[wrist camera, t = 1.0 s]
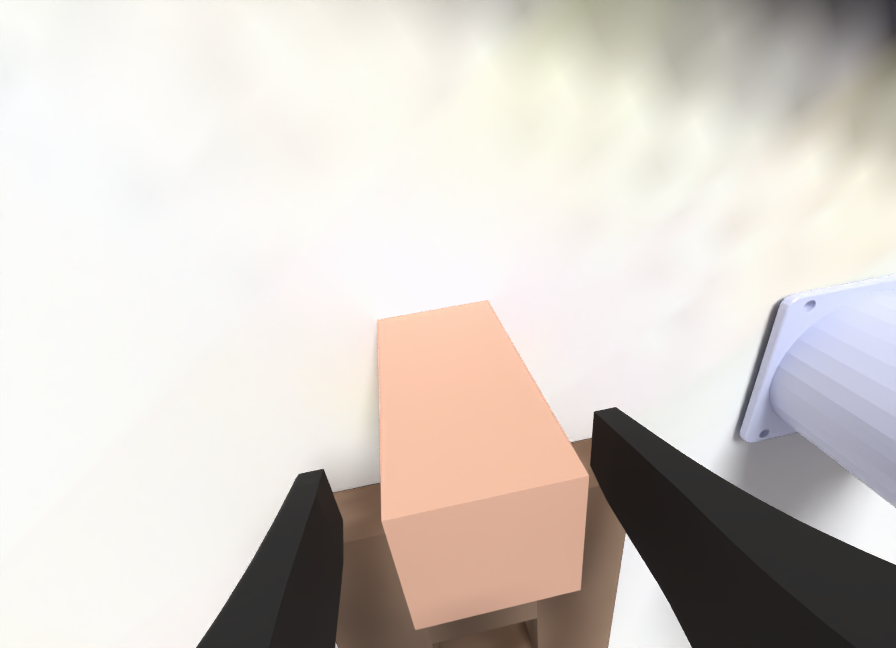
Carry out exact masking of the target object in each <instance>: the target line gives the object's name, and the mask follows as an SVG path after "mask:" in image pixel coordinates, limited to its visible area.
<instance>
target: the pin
mask: <svg viewBox="0 0 896 648" xmlns="http://www.w3.org/2000/svg"><path fill="white" fill-rule="evenodd" d="M378 370H379V422H380V473H381V521H382V525H383V528H384V531H385V534H386V537H387V541H388V544H389V547H390V550H391V554H392V557H393V560H394V563H395V566H396V570H397V573H398V576H399V579H400V582H401V586H402V589H403V592H404V595H405V598H406V602H407V605H408V608H409V611H410V615H411V618H412V621H413V624H414V627H415V630H418V629H422V628H426V627H431V626H435V625H439V624H443V623H447V622H451V621H455V620H459V619H463V618H468V617H472V616H476V615H480V614H484V613H488V612H492V611H496V610H500V609H505V608H509V607H513V606H517V605H521V604H525V603H529V602H533V601H537V600H542V599H546V598H550V597H554V596H558V595H562V594H566V593H570V592H574V591H579V590H581V578H582V565H583V551H584V538H585V525H586V512H587V499H588V486H589V474H588V473H587V471H586V469H585V467H584V466H583V464H582V462H581V460H580V459H579V457H578V455H577V454H576V452H575V450H574V448H573V447H572V445H571V443H570V441H569V440H568V438H567V436H566V435H565V433H564V431H563V429H562V428H561V426H560V424H559V422H558V421H557V419H556V417H555V416H554V414H553V412H552V410H551V409H550V407H549V405H548V403H547V402H546V400H545V398H544V397H543V395H542V393H541V391H540V390H539V388H538V386H537V384H536V383H535V381H534V379H533V377H532V376H531V374H530V372H529V371H528V369H527V367H526V365H525V364H524V362H523V360H522V358H521V357H520V355H519V353H518V352H517V350H516V348H515V346H514V345H513V343H512V341H511V339H510V338H509V336H508V334H507V333H506V331H505V329H504V327H503V326H502V324H501V322H500V320H499V319H498V317H497V315H496V314H495V312H494V310H493V308H492V307H491V305H490V303H489V301H488V300H486V301H480V302H475V303H469V304H464V305H458V306H453V307H447V308H441V309H436V310H430V311H425V312H419V313H413V314H408V315H402V316H397V317H391V318H385V319H380V320H378Z"/></svg>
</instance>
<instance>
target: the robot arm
mask: <svg viewBox="0 0 896 648" xmlns="http://www.w3.org/2000/svg"><path fill="white" fill-rule="evenodd" d="M797 432H798V433H800V434H801V435H802V436H804V437H805V438H806V439H807V440H809V441H810V442H811V443H813V444H814V445H815V446H816V447H818V448H819V449H820V450H822V451H823V452H824V453H826V454H827V455H828V456H829V457H831V458H832V459H833V460H835V461H836V462H837V463H838V464H840V465H841V466H842V467H844V468H845V469H846V470H847V471H849V472H850V473H851V474H853V475H854V476H855V477H856V478H858V479H859V480H860V481H862V482H863V483H864V484H865V485H867V486H868V487H869V488H871V489H872V490H873V491H874V492H876V493H877V494H878V495H880V496H881V497H882V498H884V499H885V500H886V501H887V502H889V503H890V504H891V505H893V506H894V507H895V508H896V274H895V275H889V276H884V277H879V278H874V279H868V280H863V281H858V282H852V283H847V284H842V285H837V286H831V287H826V288H821V289H816V290H810V291H805V292H800V293H794V294H792V295H789V296H787V297H786V298H785V299H784V300H783V301H782V302H781V304H780V306H779V309H778V312H777V315H776V319H775V322H774V325H773V328H772V331H771V335H770V338H769V341H768V344H767V347H766V350H765V354H764V357H763V360H762V363H761V366H760V370H759V373H758V376H757V379H756V382H755V386H754V389H753V392H752V395H751V398H750V401H749V405H748V408H747V411H746V414H745V417H744V421H743V424H742V427H741V430H740V437H741V438H742V439H743V440H744V441H745V442H748V443H751V442H757V441H761V440H766V439H770V438H775V437H779V436H784V435H788V434H793V433H797ZM590 466H591V469H592V471H593V473H594V475H595V477H596V479H597V482H598V484H599V486H600V488H601V490H602V492H603V494H604V496H605V498H606V500H607V502H608V504H609V505H610V507H611V509H612V510H613V512H614V514H615V515H616V517H617V519H618V520H619V522H620V523H621V525H622V527H623V528H624V530H625V532H626V533H627V535H628V536H629V538H630V540H631V541H632V543H633V544H634V546H635V548H636V549H637V551H638V552H639V554H640V556H641V557H642V559H643V560H644V562H645V564H646V565H647V567H648V568H649V570H650V572H651V573H652V575H653V576H654V578H655V580H656V581H657V583H658V584H659V586H660V588H661V590H662V591H663V593H664V595H665V597H666V598H667V600H668V602H669V604H670V605H671V607H672V609H673V611H674V613H675V615H676V617H677V619H678V621H679V623H680V625H681V627H682V629H683V631H684V633H685V635H686V637H687V639H688V641H689V642H690V644H691V646H692V648H896V565H895V564H892V563H890V562H888V561H885V560H883V559H881V558H878V557H876V556H874V555H871V554H869V553H867V552H864V551H862V550H860V549H858V548H856V547H854V546H851V545H849V544H847V543H845V542H843V541H841V540H838V539H836V538H834V537H832V536H830V535H828V534H825V533H823V532H821V531H819V530H817V529H815V528H813V527H811V526H809V525H807V524H805V523H803V522H801V521H799V520H797V519H795V518H793V517H791V516H789V515H787V514H785V513H783V512H782V511H780V510H778V509H776V508H774V507H772V506H770V505H768V504H766V503H765V502H763V501H761V500H759V499H757V498H755V497H754V496H752V495H750V494H748V493H746V492H745V491H743V490H741V489H740V488H738V487H736V486H735V485H733V484H731V483H730V482H728V481H726V480H724V479H723V478H721V477H719V476H718V475H716V474H714V473H713V472H711V471H710V470H708V469H706V468H705V467H703V466H702V465H700V464H699V463H697V462H695V461H694V460H692V459H691V458H689V457H688V456H686V455H685V454H683V453H682V452H680V451H679V450H677V449H676V448H674V447H673V446H671V445H670V444H668V443H667V442H665V441H664V440H662V439H661V438H659V437H658V436H657V435H655V434H654V433H652V432H651V431H649V430H648V429H646V428H645V427H644V426H642V425H641V424H639V423H638V422H636V421H635V420H634V419H632V418H631V417H629V416H628V415H626V414H625V413H623V412H622V411H621V410H619V409H618V408H616V407H614V408H609V409H605V410H600V411H595V412H594V419H593V432H592V445H591V458H590ZM343 562H344V540H343V518H342V516H341V513H340V511H339V508H338V505H337V503H336V500H335V498H334V495H333V492H332V490H331V487H330V484H329V482H328V479H327V477H326V474H325V471H324V469H320V470H316V471H311V472H306V473H301V474H299V475H298V476H297V477H296V479H295V481H294V483H293V485H292V487H291V489H290V491H289V493H288V495H287V497H286V499H285V501H284V503H283V505H282V507H281V509H280V511H279V512H278V514H277V516H276V518H275V520H274V522H273V524H272V526H271V527H270V529H269V531H268V533H267V535H266V536H265V538H264V540H263V542H262V544H261V545H260V547H259V549H258V551H257V552H256V554H255V556H254V558H253V560H252V561H251V563H250V565H249V566H248V568H247V570H246V571H245V573H244V575H243V576H242V578H241V579H240V581H239V583H238V584H237V586H236V588H235V589H234V591H233V592H232V594H231V596H230V597H229V599H228V601H227V602H226V604H225V605H224V607H223V608H222V610H221V612H220V613H219V615H218V616H217V618H216V619H215V621H214V622H213V624H212V625H211V627H210V628H209V630H208V631H207V633H206V634H205V636H204V637H203V638H202V640H201V641H200V643H199V644H198V646H197V647H196V648H335V642H336V633H337V623H338V613H339V604H340V594H341V584H342V573H343Z"/></svg>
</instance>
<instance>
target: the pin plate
mask: <svg viewBox="0 0 896 648" xmlns="http://www.w3.org/2000/svg"><path fill="white" fill-rule="evenodd" d="M571 445H572V447H573V448H574V450H575V452H576V454H577V455H578V457H579V459H580V460H581V462H582V464H583V466H584V467H585V469H586V471H587V473H588V474H589V486H588V499H587V512H586V525H585V538H584V551H583V565H582V578H581V590H579V591H574V592H570V593H566V594H562V595H558V596H554V597H550V598H546V599H542V600H537V601H533V602H529V603H525V604H521V605H517V606H513V607H509V608H505V609H500V610H496V611H492V612H488V613H484V614H480V615H476V616H472V617H468V618H463V619H459V620H455V621H451V622H447V623H443V624H439V625H435V626H431V627H426V628H422V629H418V630H415V627H414V624H413V621H412V618H411V615H410V611H409V608H408V605H407V602H406V598H405V595H404V592H403V589H402V586H401V582H400V579H399V576H398V573H397V570H396V566H395V563H394V560H393V557H392V554H391V550H390V547H389V544H388V541H387V537H386V534H385V531H384V528H383V525H382V521H381V483H378V484H373V485H368V486H364V487H359V488H354V489H349V490H345V491H340V492H335V493H333V495H334V498H335V500H336V503H337V505H338V508H339V511H340V513H341V516H342V518H343V540H344V562H343V573H342V584H341V594H340V604H339V613H338V623H337V633H336V644H337V646H338V648H608V644H609V638H610V631H611V625H612V618H613V612H614V605H615V599H616V592H617V586H618V580H619V573H620V567H621V560H622V554H623V547H624V541H625V534H626V532H625V530H624V528H623V527H622V525H621V523H620V522H619V520H618V519H617V517H616V515H615V514H614V512H613V510H612V509H611V507H610V505H609V504H608V502H607V500H606V498H605V496H604V494H603V492H602V490H601V488H600V486H599V484H598V482H597V479H596V477H595V475H594V473H593V471H592V469H591V466H590V458H591V445H592V438H590V439H585V440H580V441H576V442H571Z"/></svg>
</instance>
